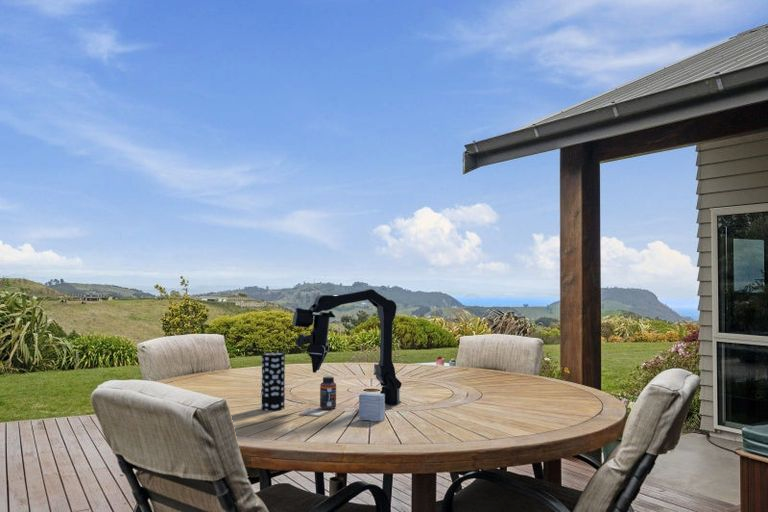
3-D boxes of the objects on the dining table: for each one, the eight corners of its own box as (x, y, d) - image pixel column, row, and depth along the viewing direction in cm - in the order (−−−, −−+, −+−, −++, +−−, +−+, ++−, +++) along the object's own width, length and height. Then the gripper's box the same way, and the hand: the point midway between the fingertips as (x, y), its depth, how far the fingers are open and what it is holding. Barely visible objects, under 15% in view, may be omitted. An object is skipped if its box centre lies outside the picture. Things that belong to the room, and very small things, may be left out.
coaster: (328, 412, 219) (328, 410, 219) (319, 416, 211) (319, 415, 211) (308, 410, 221) (308, 409, 221) (298, 415, 214) (298, 413, 214)
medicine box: (385, 419, 207) (385, 393, 207) (380, 422, 203) (380, 395, 203) (363, 417, 209) (363, 392, 210) (358, 420, 205) (358, 394, 206)
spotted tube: (288, 407, 227) (289, 353, 228) (275, 411, 219) (276, 355, 220) (270, 405, 230) (270, 352, 231) (256, 409, 223) (257, 354, 224)
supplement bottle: (333, 409, 222) (333, 378, 222) (317, 409, 223) (318, 377, 224) (338, 406, 228) (338, 376, 228) (322, 406, 229) (322, 375, 229)
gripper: (302, 325, 235) (297, 366, 234) (295, 327, 216) (290, 371, 215) (331, 328, 235) (326, 369, 234) (326, 330, 216) (321, 375, 215)
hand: (315, 371), depth 224 cm, fingers open, 9 cm apart
